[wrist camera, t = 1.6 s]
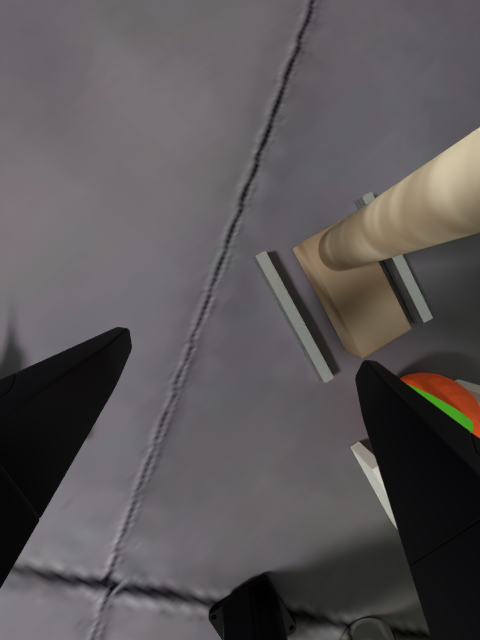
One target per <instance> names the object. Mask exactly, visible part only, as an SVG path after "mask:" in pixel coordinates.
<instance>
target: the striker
mask: <svg viewBox="0 0 480 640" xmlns="http://www.w3.org/2000/svg"><path fill="white" fill-rule="evenodd" d="M477 233H480V128H478V129H477V130H475V131H474V132H472V133H471V134H469V135H468V136H466V137H465V138H463V139H462V140H460V141H459V142H457V143H456V144H455V145H453V146H452V147H450V148H449V149H447V150H446V151H444V152H443V153H441V154H440V155H438V156H437V157H435V158H434V159H432V160H431V161H430V162H428V163H427V164H425V165H424V166H422V167H421V168H419V169H418V170H416V171H415V172H413V173H412V174H410V175H409V176H407V177H406V178H405V179H403V180H402V181H400V182H399V183H397V184H396V185H394V186H393V187H391V188H390V189H388V190H387V191H385V192H384V193H382V194H381V195H380V196H378V197H377V198H375V199H374V200H372V201H371V202H369V203H368V204H366V205H365V206H363V207H362V208H360V209H359V210H357V211H356V212H355V213H353V214H351V215H349V216H348V217H346V218H344V219H342V220H341V221H339V222H337V223H335V224H333V225H332V226H330V227H328V228H326V229H325V230H323V231H321V232H319V233H317V234H316V235H314V236H312V237H310V238H309V239H307V240H305V241H303V242H302V243H300V244H299V245H298V246H296V247H295V248H294V249H293V251H294V253H295V255H296V257H297V258H298V260H299V262H300V264H301V266H302V268H303V270H304V272H305V274H306V275H307V277H308V279H309V281H310V283H311V285H312V287H313V289H314V291H315V292H316V294H317V296H318V298H319V300H320V302H321V304H322V306H323V308H324V309H325V311H326V313H327V315H328V317H329V319H330V321H331V323H332V325H333V327H334V328H335V330H336V332H337V334H338V336H339V338H340V340H341V342H342V344H343V345H344V347H345V349H346V351H347V353H349V354H352V355H355V356H358V357H360V358H364V357H366V356H368V355H369V354H371V353H373V352H374V351H376V350H378V349H379V348H381V347H383V346H384V345H386V344H388V343H389V342H391V341H393V340H394V339H396V338H397V337H399V336H401V335H402V334H404V333H406V332H407V331H409V330H411V329H412V328H411V326H410V324H409V322H408V320H407V318H406V316H405V314H404V312H403V310H402V308H401V306H400V304H399V302H398V300H397V298H396V296H395V294H394V292H393V290H392V288H391V286H390V284H389V282H388V280H387V278H386V276H385V274H384V272H383V270H382V268H381V266H380V264H379V262H378V261H381V260H385V259H388V258H392V257H395V256H399V255H403V254H406V253H410V252H413V251H417V250H420V249H424V248H427V247H431V246H435V245H438V244H442V243H445V242H449V241H452V240H456V239H459V238H463V237H467V236H470V235H474V234H477Z"/></svg>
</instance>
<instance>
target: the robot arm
mask: <svg viewBox="0 0 480 640" xmlns="http://www.w3.org/2000/svg"><path fill="white" fill-rule="evenodd" d="M131 349H132V344H131V337H130V331H129V329H127V328H122V327H116V328H114V329H111V330H109V331H107V332H105V333H103V334H100V335H98V336H96V337H94V338H92V339H89V340H87V341H85V342H83V343H81V344H78V345H76V346H74V347H72V348H69V349H67V350H65V351H63V352H61V353H58V354H56V355H54V356H52V357H50V358H47V359H45V360H43V361H41V362H39V363H36V364H34V365H32V366H30V367H27V368H25V369H23V370H21V371H19V372H17V374H16V373H14V374H12V375H10V376H8V377H5V378H3V379H1V380H0V588H1V587H2V585H3V583H4V581H5V580H6V578H7V576H8V574H9V573H10V571H11V569H12V567H13V566H14V564H15V562H16V560H17V559H18V557H19V555H20V553H21V552H22V550H23V548H24V546H25V545H26V543H27V541H28V539H29V538H30V536H31V534H32V532H33V531H34V529H35V527H36V525H37V524H38V522H39V518H41V516H42V515H43V513H44V511H45V509H46V508H47V506H48V504H49V502H50V501H51V499H52V497H53V495H54V494H55V492H56V490H57V488H58V487H59V485H60V483H61V481H62V480H63V478H64V476H65V474H66V473H67V471H68V469H69V467H70V466H71V464H72V462H73V460H74V459H75V457H76V455H77V453H78V452H79V450H80V448H81V446H82V445H83V443H84V441H85V439H86V438H87V436H88V434H89V432H90V431H91V429H92V427H93V425H94V424H95V422H96V420H97V418H98V417H99V415H100V413H101V411H102V410H103V408H104V406H105V404H106V403H107V401H108V399H109V397H110V396H111V394H112V392H113V390H114V388H115V387H116V385H117V382H118V380H119V378H120V376H121V373H122V371H123V369H124V366H125V364H126V362H127V359H128V357H129V355H130V352H131ZM355 380H356V386H357V391H358V396H359V402H360V407H361V412H362V416H363V420H364V423H365V427H366V430H367V433H368V436H369V439H370V443H371V446H372V449H373V452H374V455H375V459H376V462H377V465H378V468H379V471H380V475H381V478H382V481H383V484H384V487H385V491H386V494H387V497H388V500H389V503H390V507H391V510H392V513H393V516H394V519H395V522H396V526H397V529H398V532H399V535H400V538H401V542H402V545H403V548H404V551H405V554H406V558H407V561H408V564H409V565H410V567H409V568H410V571H411V574H412V577H413V581H414V584H415V587H416V590H417V593H418V597H419V600H420V603H421V606H422V609H423V613H424V616H425V619H426V622H427V625H428V628H429V632H430V635H431V638H432V640H480V438H478V437H477V436H476V435H474V434H473V433H470V431H469V430H468V429H466V428H465V427H464V426H462V425H461V424H460V423H458V422H457V421H456V420H454V419H453V418H452V417H450V416H449V415H448V414H446V413H445V412H444V411H442V410H441V409H440V408H438V407H437V406H436V405H434V404H433V403H432V402H430V401H429V400H428V399H426V398H425V397H424V396H422V395H421V394H419V393H418V392H417V391H415V390H414V389H413V388H411V387H410V386H409V385H407V384H406V383H405V382H403V381H402V380H401V379H399V378H398V377H397V376H395V375H394V374H393V373H391V372H390V371H389V370H387V369H386V368H385V367H383V366H382V365H381V364H379V363H378V362H377V361H372V360H364V361H363V363H362V364H361V366H360V368H359V370H358V372H357V374H356V379H355ZM209 621H210V622H211V624H212V625H213V627H214V628H215V630H216V631H217V633H218V634H219V636H220V637H221V639H222V640H288V639H287V636H288V635H290V634H291V633H293V632H294V631H295V630H296V627H297V626H296V623H295V620H294V618H293V616H292V615H291V613H290V612H289V610H288V608H287V607H286V605H285V604H284V602H283V600H282V599H281V597H280V596H279V594H278V592H277V591H276V589H275V588H274V586H273V584H272V583H271V581H270V580H269V578H268V577H267V576H266V575H262V576H260V577H259V578H257V579H256V580H254V581H252V582H251V583H249V584H248V585H246V586H245V587H243V588H242V589H240V590H239V591H237V592H235V593H234V594H232V595H231V596H229V597H228V598H226V599H225V600H223V601H222V602H220V603H219V604H217V605H215V606H214V607H212V608H211V609H210V610H209Z"/></svg>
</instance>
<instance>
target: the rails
mask: <svg viewBox="0 0 480 640" xmlns="http://www.w3.org/2000/svg"><path fill="white" fill-rule="evenodd" d="M374 199H375V197H374V195H373V193H372V191H371V192H369V193H368V194H366V195H364V196H362V197H361V198H360V199H358V200H357V201H356V202H355V204H356V206H357V208H358V210H359V209H360V208H362V207H363V206H365V205H366V204H368V203H369V202H371V201H372V200H374ZM254 261H255V263H256V265H257V267H258V269H259V270H260V272H261V274H262V276H263V278H264V279H265V281H266V283H267V285H268V287H269V289H270V290H271V292H272V294H273V296H274V298H275V300H276V301H277V303H278V305H279V307H280V309H281V311H282V312H283V314H284V316H285V318H286V320H287V322H288V323H289V325H290V327H291V329H292V331H293V332H294V334H295V336H296V338H297V340H298V342H299V343H300V345H301V347H302V349H303V351H304V353H305V354H306V356H307V358H308V360H309V362H310V364H311V365H312V367H313V369H314V371H315V373H316V375H317V376H318V378H319V380H321V381H322V382H323V383H326V382H328V381H330V380H331V379H333V378H334V377H333V375H332V373H331V371H330V369H329V368H328V366H327V364H326V362H325V360H324V358H323V356H322V355H321V353H320V351H319V349H318V347H317V345H316V344H315V342H314V340H313V338H312V336H311V334H310V332H309V331H308V329H307V327H306V325H305V323H304V321H303V319H302V318H301V316H300V314H299V312H298V310H297V308H296V307H295V305H294V303H293V301H292V299H291V297H290V295H289V294H288V292H287V290H286V288H285V286H284V284H283V282H282V281H281V279H280V277H279V275H278V273H277V271H276V269H275V268H274V266H273V264H272V262H271V260H270V258H269V257H268V255H267V253H266V251H264V252H262V253H260V254H258V255H257V256H255V257H254ZM383 261H384V263H385V265H386V267H387V269H388V271H389V273H390V275H391V277H392V279H393V281H394V283H395V285H396V287H397V289H398V291H399V293H400V295H401V297H402V299H403V301H404V303H405V305H406V307H407V309H408V311H409V313H410V315H411V317H412V319H413V321H414V322H415V323H425V322H427V321H429V320H430V319H432V318H433V317H432V315H431V313H430V311H429V309H428V307H427V305H426V303H425V301H424V298H423V296H422V294H421V292H420V290H419V288H418V286H417V284H416V282H415V280H414V278H413V276H412V274H411V272H410V270H409V268H408V265H407V263H406V261H405V259H404V257H403V255H399V256H395V257H392V258H388V259H385V260H383Z"/></svg>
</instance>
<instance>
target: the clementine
mask: <svg viewBox="0 0 480 640" xmlns="http://www.w3.org/2000/svg"><path fill="white" fill-rule="evenodd" d="M399 379H401V380H402V381H403V382H405V383H406V384H407V385H409V386H410V387H411V388H413V389H414V390H415V391H417V392H418V393H419V394H421V395H422V396H424V397H425V398H426V399H428V400H429V401H430V402H432V403H433V404H434V405H436V406H437V407H438V408H440V409H441V410H442V411H444V412H445V413H446V414H448V415H449V416H450V417H452V418H453V419H454V420H456V421H457V422H458V423H460V424H461V425H462V426H464V427H465V428H466V429H468V430H469V431H470V433H473V434H474V435H476V436H477V437H478V438H480V405H479V404H478V402H477V400H476V399H475V398H474V396H473V395H472V394H471V393H470V392H469V391H468V390H466V389H465V388H464V387H463V386H462V385H460V384H459V383H458V382H456V381H454V380H451V379H449V378H447V377H444V376H442V375H439V374H433V373H424V372H419V373H414V374H409V375H405V376H403V377H401V378H399Z"/></svg>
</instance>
